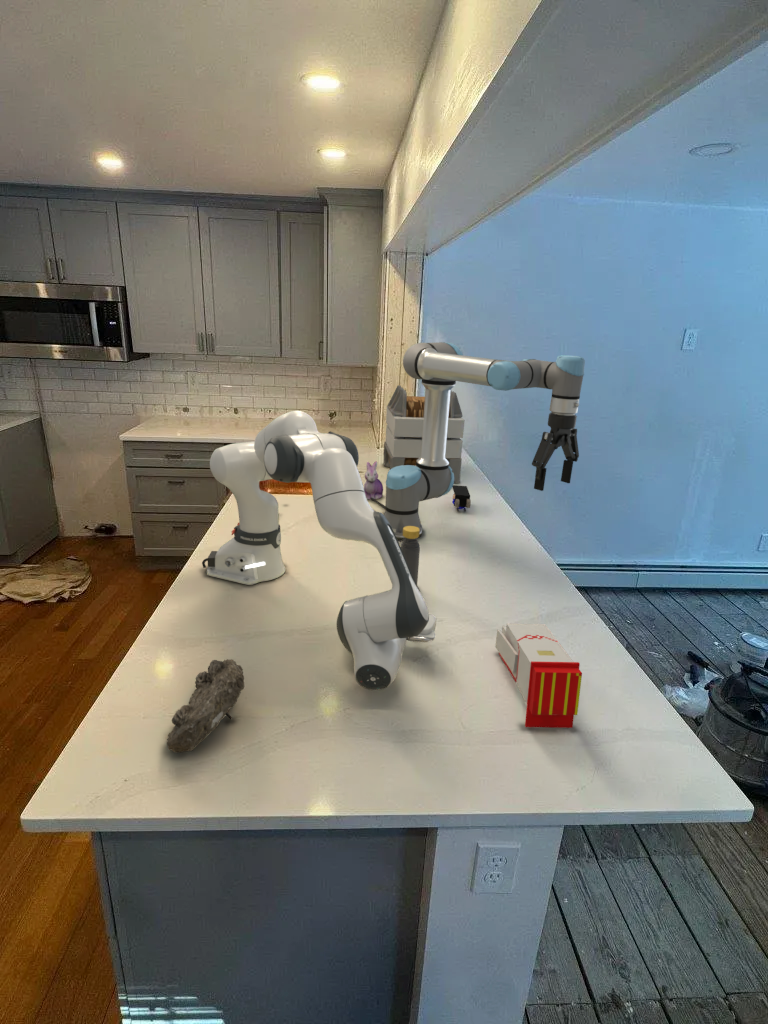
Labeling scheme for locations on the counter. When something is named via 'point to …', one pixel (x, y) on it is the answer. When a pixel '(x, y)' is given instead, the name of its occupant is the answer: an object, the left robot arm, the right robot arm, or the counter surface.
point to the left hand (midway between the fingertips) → (396, 605)
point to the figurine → (372, 483)
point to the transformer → (419, 431)
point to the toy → (541, 674)
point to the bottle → (411, 555)
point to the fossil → (206, 705)
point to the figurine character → (461, 497)
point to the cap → (411, 532)
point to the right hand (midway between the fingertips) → (552, 485)
